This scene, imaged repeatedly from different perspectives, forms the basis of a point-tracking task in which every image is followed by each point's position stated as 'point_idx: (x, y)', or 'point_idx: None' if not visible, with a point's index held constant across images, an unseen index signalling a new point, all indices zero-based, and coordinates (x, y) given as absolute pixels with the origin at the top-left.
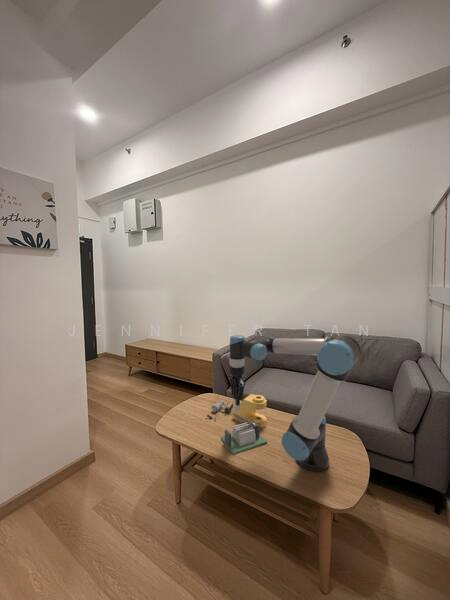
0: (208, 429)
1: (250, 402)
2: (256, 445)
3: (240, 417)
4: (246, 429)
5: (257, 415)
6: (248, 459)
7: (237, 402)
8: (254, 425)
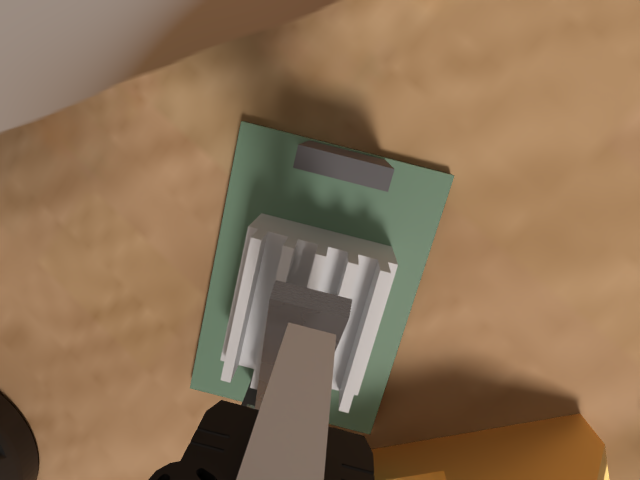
0: (625, 166)
1: None
2: (206, 309)
3: (268, 341)
4: None
5: None
6: (145, 175)
7: (185, 451)
8: None
